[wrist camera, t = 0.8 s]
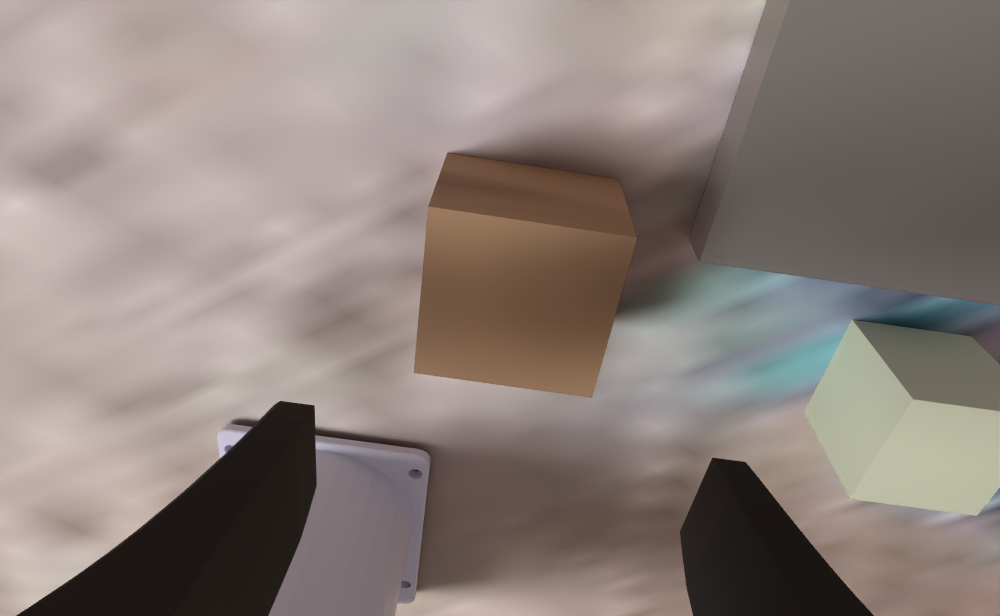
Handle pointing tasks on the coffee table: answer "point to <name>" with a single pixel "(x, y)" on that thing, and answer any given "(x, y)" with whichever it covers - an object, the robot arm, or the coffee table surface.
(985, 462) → the sage block
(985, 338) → the coffee table surface
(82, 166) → the coffee table surface
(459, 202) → the walnut block
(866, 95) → the plinth
